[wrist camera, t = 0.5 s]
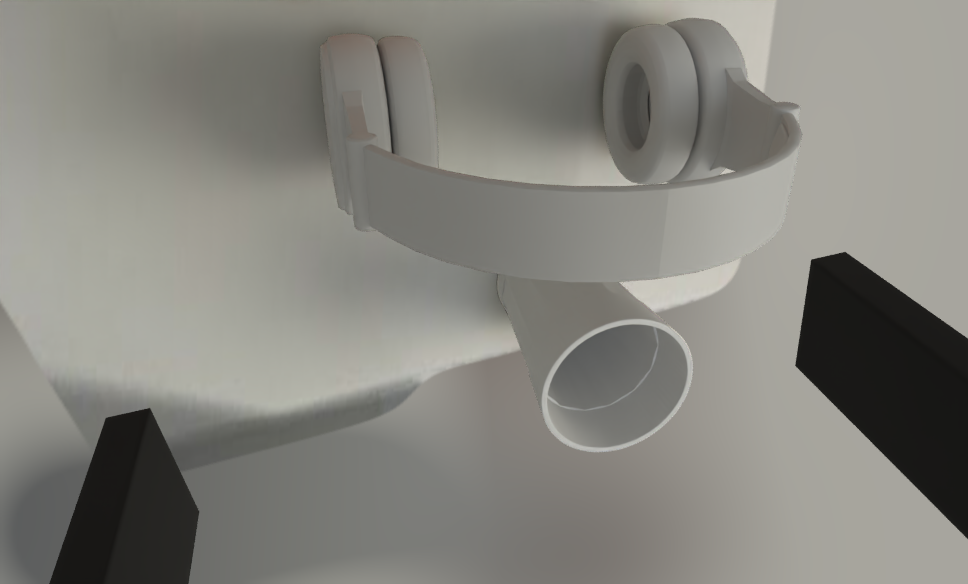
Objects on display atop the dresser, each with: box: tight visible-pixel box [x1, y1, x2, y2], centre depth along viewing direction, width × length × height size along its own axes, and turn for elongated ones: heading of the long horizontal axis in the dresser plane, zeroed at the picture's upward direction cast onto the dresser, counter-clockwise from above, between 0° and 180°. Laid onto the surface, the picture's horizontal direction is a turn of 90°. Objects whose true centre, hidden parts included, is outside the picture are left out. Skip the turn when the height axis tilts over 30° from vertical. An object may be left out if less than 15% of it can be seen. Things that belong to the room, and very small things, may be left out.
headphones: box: [320, 18, 802, 282], centre depth 31 cm, size 20×8×19 cm, turn 90°
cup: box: [497, 274, 693, 452], centre depth 41 cm, size 8×8×12 cm
